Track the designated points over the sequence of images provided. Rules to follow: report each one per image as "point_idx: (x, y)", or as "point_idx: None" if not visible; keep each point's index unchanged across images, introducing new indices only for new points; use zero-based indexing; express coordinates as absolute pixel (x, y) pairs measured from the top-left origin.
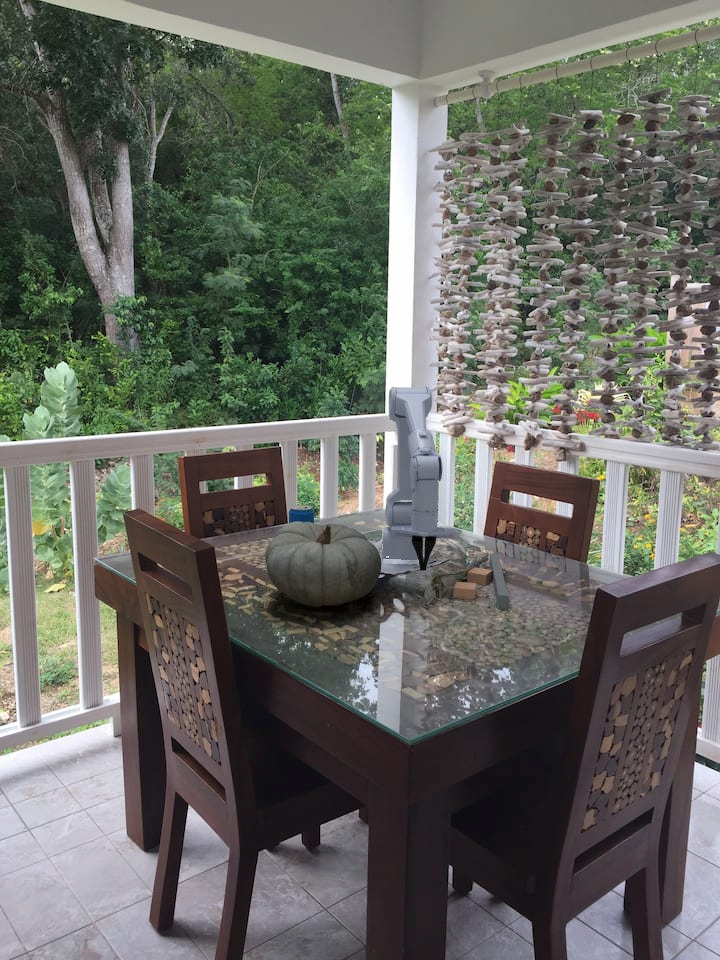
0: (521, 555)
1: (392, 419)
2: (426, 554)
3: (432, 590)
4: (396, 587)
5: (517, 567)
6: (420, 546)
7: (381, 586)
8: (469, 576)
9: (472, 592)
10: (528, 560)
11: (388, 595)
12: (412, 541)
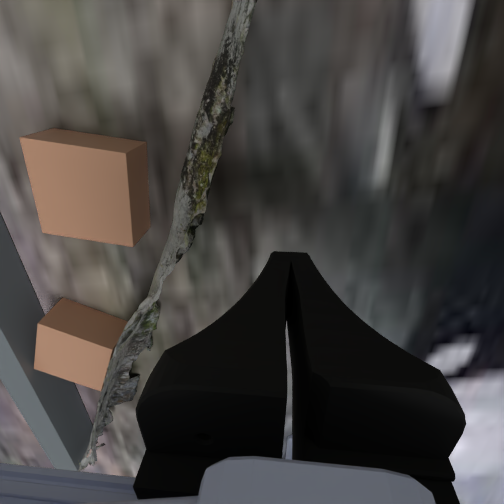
0: None
1: None
2: (265, 306)
3: (232, 29)
4: (400, 251)
5: (24, 424)
6: (334, 351)
7: (467, 258)
8: (111, 334)
9: (41, 134)
10: (17, 459)
11: (467, 134)
12: (461, 417)
